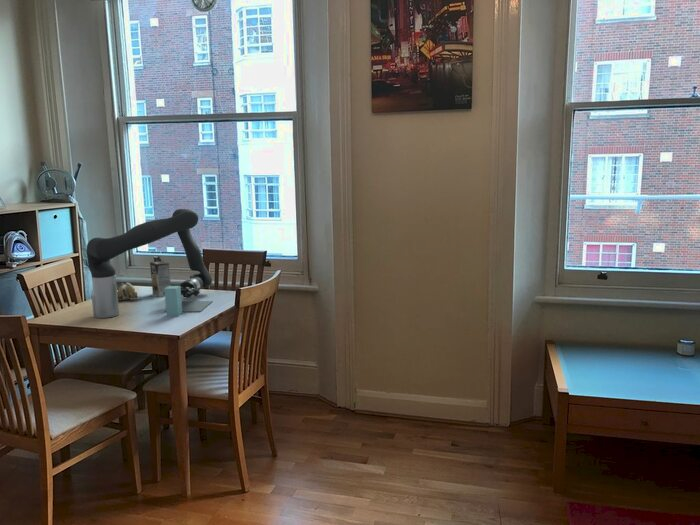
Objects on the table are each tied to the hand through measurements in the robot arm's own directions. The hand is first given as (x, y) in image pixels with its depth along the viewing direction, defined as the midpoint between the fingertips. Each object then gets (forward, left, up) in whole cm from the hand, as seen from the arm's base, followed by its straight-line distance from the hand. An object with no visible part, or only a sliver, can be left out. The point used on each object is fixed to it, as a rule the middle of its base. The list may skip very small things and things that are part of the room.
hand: (177, 295), depth 237 cm
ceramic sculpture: (-34, +24, -7) cm, 42 cm away
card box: (0, -5, -7) cm, 9 cm away
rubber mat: (+2, +8, -7) cm, 11 cm away
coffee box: (-20, +33, -7) cm, 39 cm away
